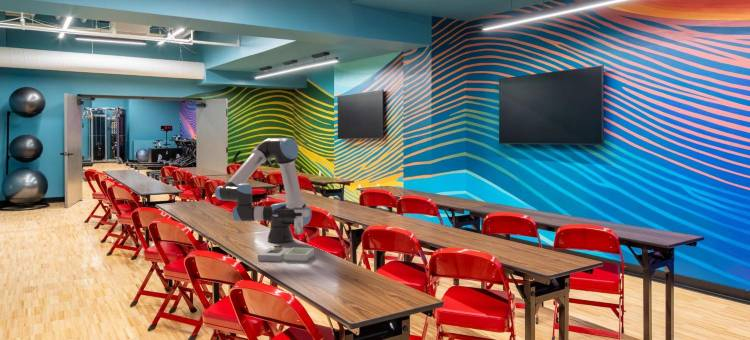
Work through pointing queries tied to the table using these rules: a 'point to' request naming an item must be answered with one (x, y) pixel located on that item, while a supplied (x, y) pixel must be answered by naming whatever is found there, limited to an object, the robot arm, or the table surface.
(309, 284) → the table surface
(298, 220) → the shiny metal cylinder
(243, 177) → the robot arm
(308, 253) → the parts tray
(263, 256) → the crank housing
